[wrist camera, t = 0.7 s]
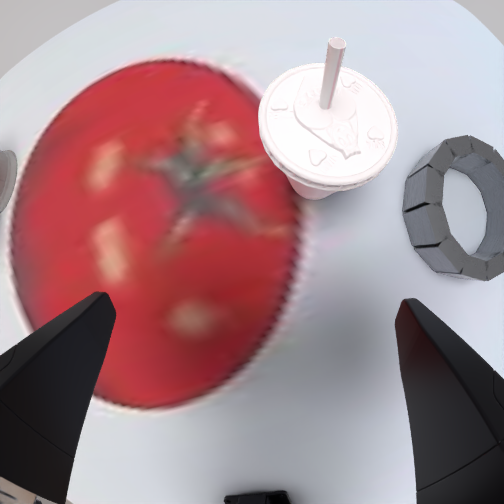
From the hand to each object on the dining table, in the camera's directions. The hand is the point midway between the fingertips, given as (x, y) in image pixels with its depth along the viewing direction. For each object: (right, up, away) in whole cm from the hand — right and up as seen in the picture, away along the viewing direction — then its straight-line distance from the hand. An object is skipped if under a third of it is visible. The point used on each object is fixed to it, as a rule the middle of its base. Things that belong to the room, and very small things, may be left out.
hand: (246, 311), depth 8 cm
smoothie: (+5, +7, +13) cm, 15 cm away
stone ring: (+17, +5, +11) cm, 21 cm away
